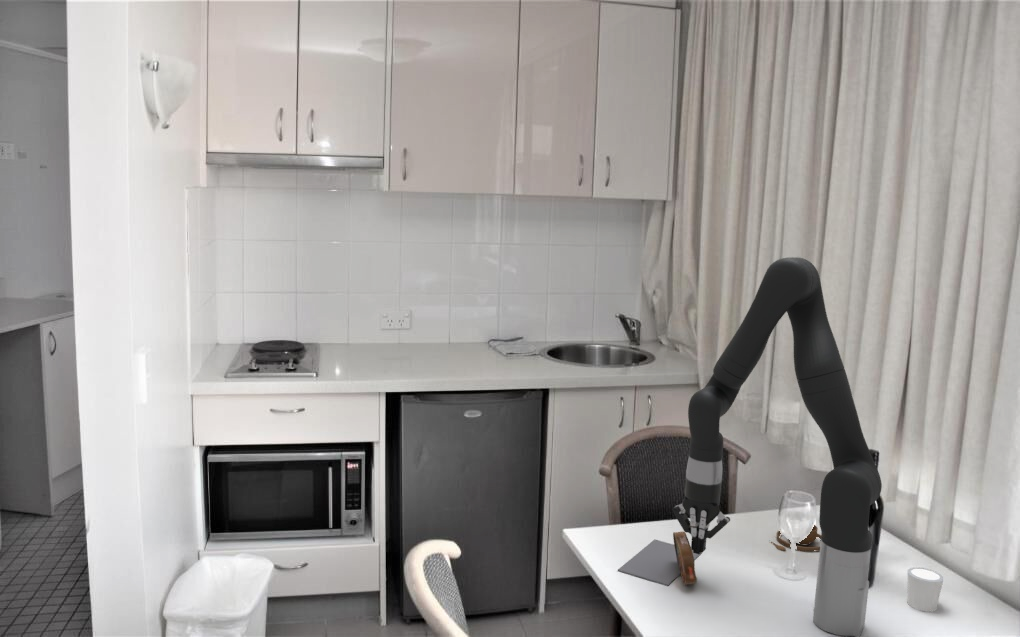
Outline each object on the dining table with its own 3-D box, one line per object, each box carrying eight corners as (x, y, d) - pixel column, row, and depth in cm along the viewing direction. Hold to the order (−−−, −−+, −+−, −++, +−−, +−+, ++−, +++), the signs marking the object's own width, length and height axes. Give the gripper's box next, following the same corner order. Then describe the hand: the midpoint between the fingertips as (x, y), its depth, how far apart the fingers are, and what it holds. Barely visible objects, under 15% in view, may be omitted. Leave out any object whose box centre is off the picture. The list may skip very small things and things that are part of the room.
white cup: (946, 608, 175) (950, 577, 174) (926, 615, 171) (930, 583, 170) (917, 594, 181) (920, 564, 180) (896, 601, 177) (900, 570, 176)
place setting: (815, 531, 215) (817, 509, 214) (871, 564, 196) (873, 541, 195) (757, 537, 209) (759, 515, 209) (809, 572, 191) (811, 548, 190)
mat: (701, 553, 198) (701, 552, 198) (667, 586, 180) (667, 584, 180) (654, 540, 204) (654, 539, 204) (617, 570, 186) (617, 569, 186)
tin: (676, 559, 192) (669, 526, 191) (689, 556, 192) (682, 523, 191) (686, 592, 178) (679, 557, 176) (701, 590, 177) (693, 554, 176)
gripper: (739, 479, 180) (732, 555, 183) (681, 466, 187) (675, 539, 190) (728, 488, 174) (721, 567, 176) (668, 475, 181) (663, 550, 183)
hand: (697, 552), depth 183 cm, fingers closed
